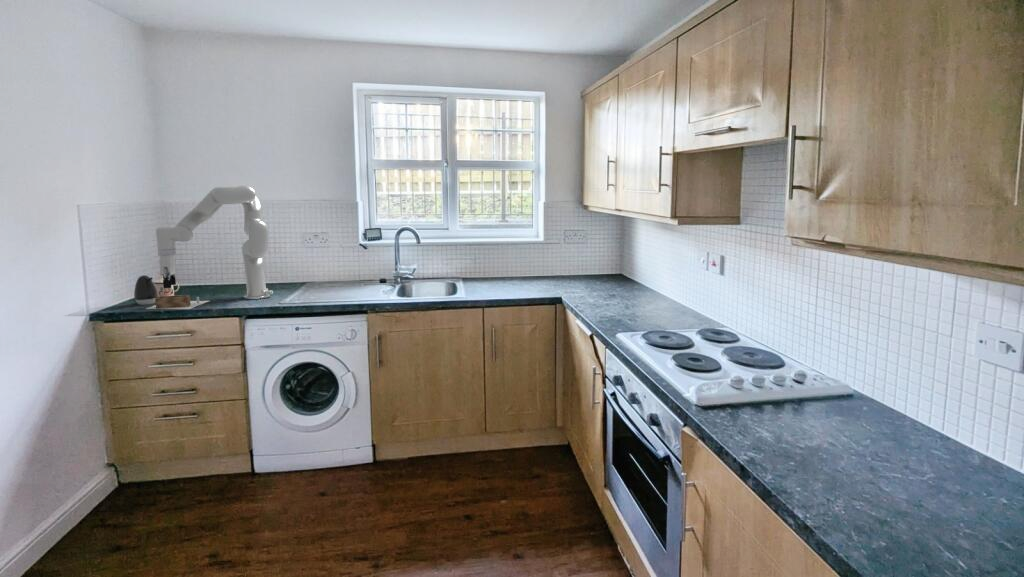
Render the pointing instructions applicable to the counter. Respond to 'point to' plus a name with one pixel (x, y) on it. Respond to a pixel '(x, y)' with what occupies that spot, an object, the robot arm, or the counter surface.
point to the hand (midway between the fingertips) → (169, 286)
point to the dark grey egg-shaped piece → (145, 291)
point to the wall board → (193, 304)
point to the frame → (172, 301)
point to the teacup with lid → (162, 290)
